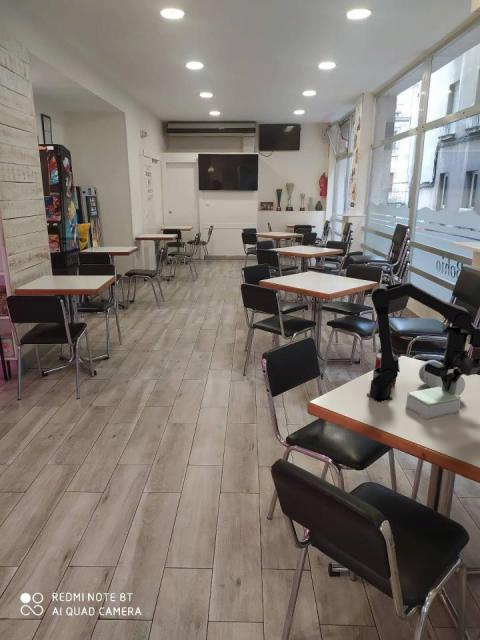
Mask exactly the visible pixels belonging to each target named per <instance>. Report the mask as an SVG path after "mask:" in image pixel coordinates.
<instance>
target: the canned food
mask: <svg viewBox="0 0 480 640" xmlns="http://www.w3.org/2000/svg"><path fill="white" fill-rule="evenodd" d="M395 355H396V354H394V356H395ZM375 356H376V357H375V365H374V370H375V369H376V368H378V367H379V366H380V361H381V352H380V353H377V354H376V355H375ZM398 360H399V357H398ZM396 383H397V378H396V379H394V380H393V381H391V385H392V386H391V388H394V387H395V386H396Z"/></svg>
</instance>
